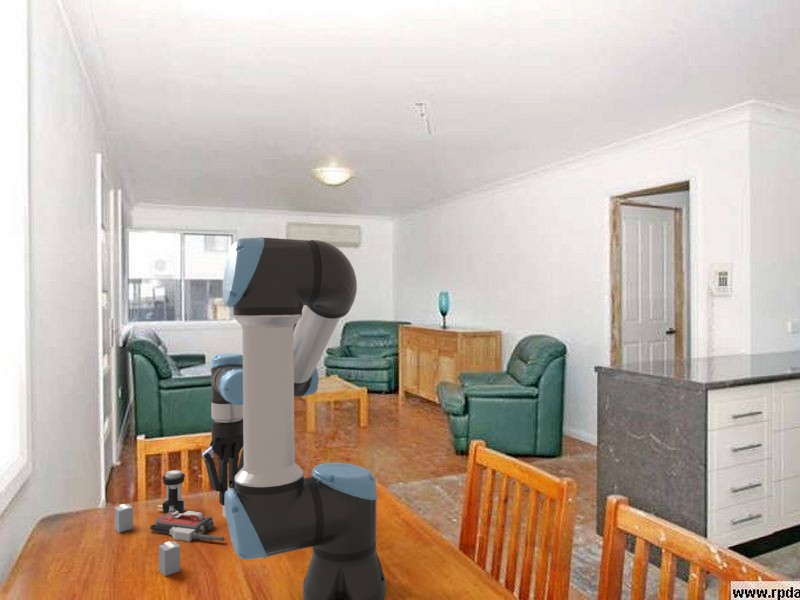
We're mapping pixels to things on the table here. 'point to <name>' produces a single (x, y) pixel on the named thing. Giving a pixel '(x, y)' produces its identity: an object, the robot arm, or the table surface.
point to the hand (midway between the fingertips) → (228, 516)
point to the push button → (173, 492)
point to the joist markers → (167, 551)
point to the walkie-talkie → (185, 526)
